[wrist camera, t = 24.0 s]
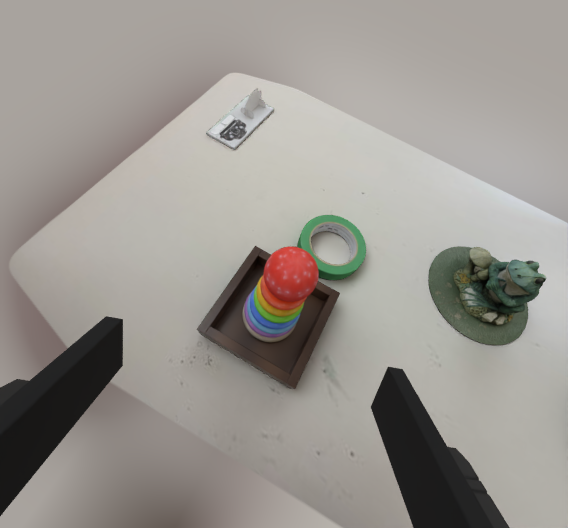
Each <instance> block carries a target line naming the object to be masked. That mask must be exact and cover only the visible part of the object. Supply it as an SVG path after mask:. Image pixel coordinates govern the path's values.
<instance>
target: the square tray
mask: <svg viewBox="0 0 568 528" xmlns="http://www.w3.org/2000/svg"><path fill="white" fill-rule="evenodd" d="M270 256H271V254H269V253H267V252H265V251H263V250H262V249H260V248H258V247H257V246H255V247H254V248H253V250H252V251H251V253H250V254H249V255H248V257H247V258H246V260H245V261H244V263H243V264H242V265H241V267H240V268H239V270H238V271H237V273H236V274H235V275H234V277H233V278H232V280H231V281H230V283H229V284H228V285H227V287H226V288H225V290H224V291H223V293H222V294H221V295H220V297H219V298H218V300H217V301H216V303H215V304H214V305H213V307H212V308H211V310H210V311H209V313H208V314H207V315H206V317H205V318H204V320H203V321H202V323H201V324H200V325H199V327H198V328H197V330H198V331H199V333H200V334H201V335H203V336H204V337H206V338H208V339H209V340H211V341H213V342H214V343H216V344H218V345H219V346H221V347H223V348H224V349H226V350H228V351H229V352H231V353H233V354H234V355H236V356H238V357H239V358H241V359H242V360H244V361H246V362H247V363H249V364H251V365H252V366H254V367H256V368H257V369H259V370H261V371H262V372H264V373H266V374H267V375H269V376H271V377H272V378H274V379H276V380H277V381H279V382H280V383H282V384H284V385H285V386H287V387H289V388H293V389H295V388H296V385H297V383H298V381H299V379H300V377H301V375H302V373H303V371H304V368H305V366H306V364H307V362H308V360H309V358H310V356H311V354H312V352H313V349H314V347H315V345H316V343H317V341H318V339H319V337H320V335H321V333H322V330H323V328H324V326H325V324H326V322H327V320H328V318H329V316H330V313H331V311H332V309H333V307H334V305H335V303H336V301H337V299H338V297H339V294H340V293H339V292H337V291H335V290H332V289H331V288H330V287H328V286H326V285H324V284H322V283H321V282H319V281H318V282H317V285H316V287H315V289H314V290H313V292H312V293H311V294H310V295H309V296H307V298H306V300H305V301H304V305H303V308H302V310H301V313H300V316H299V319H298V321H297V324H296V326H295V328H294V330H293V331H292V333H291V334H290V335H289V336H288V337H286V338H285V339H283V340H281V341H278V342H264V341H261V340H258V339H257V338H255V337H254V336H252V335H251V334H250V333H249V331H248V330H247V329H246V327H245V324H244V322H243V315H242V313H243V307H244V304H245V302H246V299H247V297H248V296H249V294H250V293H251V292H252V291H253V290H254V288H255V287H256V286H257V284H258V282H259V280H260V278H261V277H262V276H263V274H264V267H265V264H266V262H267V260H268V259H269V257H270Z"/></svg>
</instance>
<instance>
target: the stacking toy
mask: <svg viewBox="0 0 568 528" xmlns="http://www.w3.org/2000/svg"><path fill="white" fill-rule="evenodd" d="M318 278H319V271H318V266H317V263H316V261H315V260H314V258H313V257H312V256H311V255H310V254H309V253H308V252H307V251H305V250H303V249H301V248H298V247H284V248H281V249H279V250H277V251H276V252H274V253H273V254H272V255H271V256H270V257H269V259H268V260H267V262H266V264H265V267H264V274H263V276H262V277H261V278H260V280H259V282H258V284H257V286H256V287H255V288H254V290H253V291H252V292H251V293H250V294H249V296H248V297H247V299H246V302H245V304H244V307H243V313H242V315H243V322H244V324H245V327H246V329H247V330H248V331H249V333H250V334H251V335H252V336H254V337H255V338H257V339H258V340H261V341H264V342H278V341H281V340H283V339H285V338H286V337H288V336H289V335H290V334H291V333H292V331H293V330H294V328H295V326H296V324H297V321H298V319H299V316H300V313H301V310H302V308H303V305H304V301H305V300H306V298H307V296H309V295H310V294H311V293H312V292H313V290H314V289H315V287H316V285H317V282H318Z"/></svg>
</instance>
